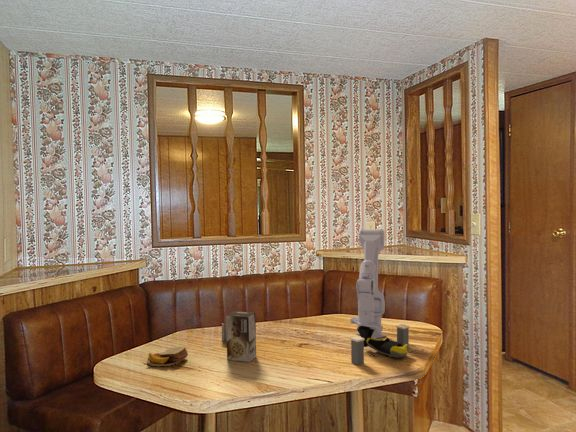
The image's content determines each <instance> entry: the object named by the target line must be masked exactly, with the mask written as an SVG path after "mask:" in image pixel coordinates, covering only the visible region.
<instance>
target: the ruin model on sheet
mask: <svg viewBox="0 0 576 432" xmlns="http://www.w3.org/2000/svg"><path fill="white" fill-rule="evenodd" d="M221 341H222V342H223V343H227V333H226V323H223V322H222V323H221Z"/></svg>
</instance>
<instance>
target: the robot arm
mask: <svg viewBox="0 0 576 432" xmlns="http://www.w3.org/2000/svg"><path fill="white" fill-rule="evenodd" d="M358 240H359V244H360V247H361V250H363V261H362V262H361V263H360V267H359V276H358V278H357V280H356V283H355V284H356V285H355V286H356V295H357V296H356V297H357V309H358V310H357V312H358V313H357V314H358V315H357V317H350V324H354V325H356V326H357V328H356V330H357V332H356V335H357V336H358V335H359V337H362V338H365V340H364V348H368V347H369V346H368V344H367V343H366V341H367V338H374V339H379V338H382V337H383V338H384V337H386V335H387V334H385V333H382V332H383V331H384V330H383V325H382V315H384V314H385V308H386V301H385V295H384V294H383V293H382V292H381V291H379V289H378V288H379V286H378V285H379V256H380V255H379V254H380V251H383V250H384V248H385V230H384V229H382V228H381V229H363V228H361V229H360V230H359V233H358Z"/></svg>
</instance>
